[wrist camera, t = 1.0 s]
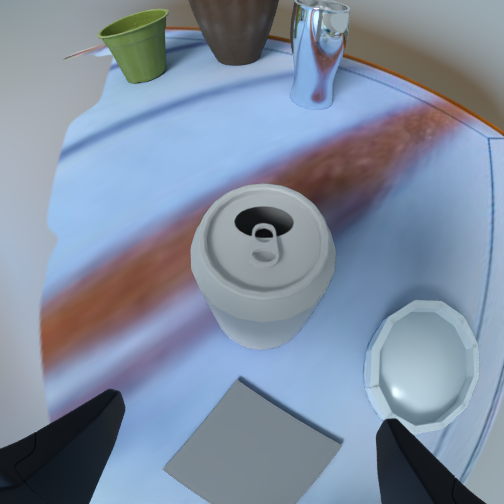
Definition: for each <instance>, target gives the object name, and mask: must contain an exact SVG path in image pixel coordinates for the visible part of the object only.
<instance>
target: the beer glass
mask: <svg viewBox="0 0 504 504" xmlns="http://www.w3.org/2000/svg"><path fill="white" fill-rule="evenodd" d="M349 16H350V8H349V7H348V6H347V5H345V4H342V3H340V2H336V1H333V0H294V6H293V12H292V19H291V37H290V38H291V49H292V56H293V63H294V80H293V84H292V87H291V90H290V99H291V100H292V101H293V102H294V103H295V104H296V105H298V106H300V107H303V108H306V109H312V110H321V109H325V108H328V107H329V106H330V105H331V104H332V100H333V95H332V85H333V80H334V76H335V74H336V71H337V68H338V66H339V64H340V61H341V59H342V56H343V53H344V50H345V47H346V43H347V38H348V31H349Z"/></svg>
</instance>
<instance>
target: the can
mask: <svg viewBox="0 0 504 504" xmlns="http://www.w3.org/2000/svg"><path fill="white" fill-rule="evenodd" d="M335 259H336V249H335V245H334V242H333V238H332V235H331V231H330V230H329V228H328V227H327V224H326V220H325V218H324V217H323V216H322V214H321V213H320V211H319V210H318V208H317V207H316V206H315V204H313V203H312V202H311V201H310V200H308V199H307V198H306V197H305V196H303V195H302V194H301V193H299V192H296V191H294V190H292V189H289V188H287V187H284V186H280V185H273V184H266V183H263V184H254V185H245V186H243V187H240V188H237V189H235V190H232V191H230V192H228V193H226V194H225V195H224V196H222V197H221V198H219V199H218V200H217V201H215V202H214V203H213V204H212V206H211V207H210V208H209V210H208V211H207V212H206V214H205V215H204V217H203V219H202V222H201V224H200V225H199V227H198V228H197V230H196V233H195V236H194V239H193V242H192V246H191V269H192V271H193V274H194V276H195V279H196V281H197V283H198V286H199V288H200V290H201V292H202V294H203V296H204V298H205V300H206V302H207V303H208V305H209V307H210V309H211V311H212V313H213V314H214V316H215V318H216V320H217V322H218V324H219V325H220V327H221V329H222V330H223V331H224V332H225V333H226V334H227V336H228V337H229V338H230V339H231V340H232V341H234V342H236V343H238V344H240V345H242V346H243V347H245V348H251V349H257V350H266V349H273V348H277V347H279V346H281V345H283V344H285V343H287V342H289V341H290V340H291V339H292V338H293V337H294V336H295V335H296V334H297V333H298V332H299V331H300V330H301V329H302V327H303V326H304V324H305V323H306V321H307V320H308V318H309V317H310V315H311V314H312V312H313V311H314V309H315V307H316V306H317V304H318V303H319V301H320V300H321V298H322V296H323V295H324V293H325V292H326V290H327V287H328V285H329V283H330V281H331V279H332V276H333V274H334V272H335Z"/></svg>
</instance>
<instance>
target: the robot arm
mask: <svg viewBox="0 0 504 504" xmlns="http://www.w3.org/2000/svg"><path fill="white" fill-rule="evenodd" d="M124 413H125V404H124V401H123V398H122V394H121V392H120V391H117V390H114V389H108V390H106V391H104V392H103V393H101V394H99V395H98V396H96V397H94V398H93V399H91V400H89V401H88V402H86V403H84V404H83V405H81V406H79V407H78V408H76V409H74V410H73V411H71V412H69V413H68V414H66V415H64V416H63V417H61V418H59V419H57V420H56V421H54V422H52V423H50V424H49V425H47V426H45V427H44V428H42V429H40V430H38V431H37V432H35V433H33V434H31V435H29V436H28V437H26V438H23V439H22V440H20V441H18V442H15V443H13V444H11V445H8V446H6V447H3V448H1V449H0V504H89V503H90V501H91V498H92V496H93V493H94V491H95V489H96V486H97V484H98V482H99V479H100V477H101V475H102V472H103V470H104V468H105V466H106V463H107V461H108V459H109V456H110V454H111V452H112V450H113V447H114V445H115V442H116V439H117V435H118V432H119V429H120V426H121V423H122V419H123V416H124ZM376 447H377V471H378V480H379V487H380V494H381V502H382V504H486V503H485V502H483V501H482V500H481V499H479V498H478V497H477V496H476V495H474V494H473V493H472V492H471V491H470V490H468V489H467V488H466V487H465V486H464V485H463V484H462V483H461V482H460V481H459V480H458V479H457V478H455V476H454V475H453V474H452V473H451V472H450V471H449V470H448V469H447V468H446V467H445V466H444V465H443V464H442V463H441V462H440V461H439V460H438V459H437V458H436V457H435V456H434V455H433V454H432V453H431V452H430V451H429V450H428V449H427V448H426V447H425V446H424V445H423V444H422V443H421V442H420V441H419V440H418V439H417V438H416V437H415V436H414V435H413V434H412V433H411V432H410V431H409V430H408V429H407V428H406V427H405V426H404V425H403V424H402V423H401V422H400V421H399V420H398V419H396V418H387V419H385V420H384V421H383V423H382V425H381V426H380V428H379V430H378V432H377V434H376Z"/></svg>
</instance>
